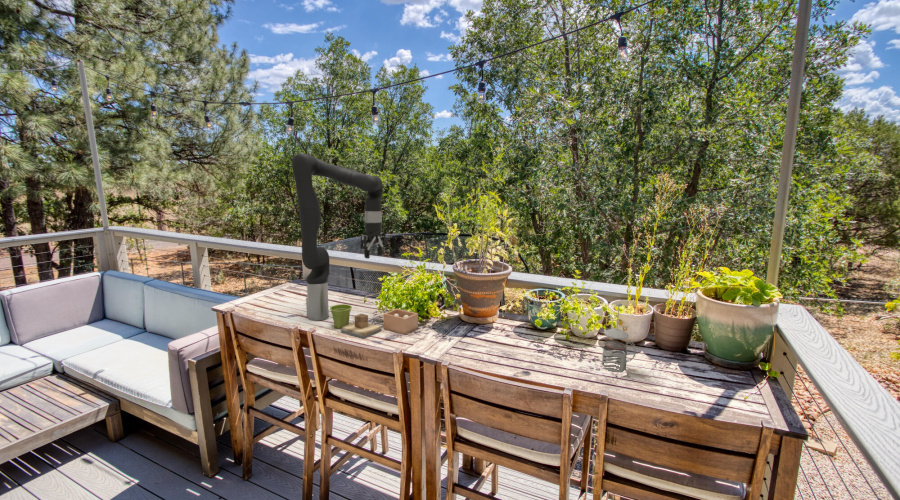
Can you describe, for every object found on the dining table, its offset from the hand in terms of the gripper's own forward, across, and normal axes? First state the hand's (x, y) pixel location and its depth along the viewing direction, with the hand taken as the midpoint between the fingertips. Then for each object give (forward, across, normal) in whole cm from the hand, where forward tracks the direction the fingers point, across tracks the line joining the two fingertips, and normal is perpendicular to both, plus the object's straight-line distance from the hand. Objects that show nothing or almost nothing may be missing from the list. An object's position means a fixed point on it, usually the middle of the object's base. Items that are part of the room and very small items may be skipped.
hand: (373, 256), depth 189 cm
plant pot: (+30, +14, -7) cm, 34 cm away
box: (+30, +2, +17) cm, 35 cm away
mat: (+30, +14, +5) cm, 34 cm away
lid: (+29, +14, +5) cm, 33 cm away
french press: (+30, -7, +105) cm, 110 cm away
